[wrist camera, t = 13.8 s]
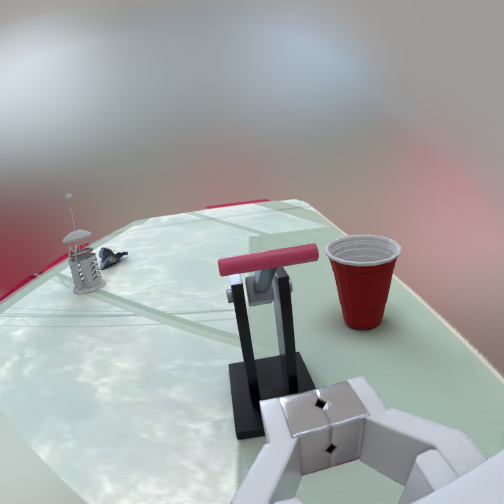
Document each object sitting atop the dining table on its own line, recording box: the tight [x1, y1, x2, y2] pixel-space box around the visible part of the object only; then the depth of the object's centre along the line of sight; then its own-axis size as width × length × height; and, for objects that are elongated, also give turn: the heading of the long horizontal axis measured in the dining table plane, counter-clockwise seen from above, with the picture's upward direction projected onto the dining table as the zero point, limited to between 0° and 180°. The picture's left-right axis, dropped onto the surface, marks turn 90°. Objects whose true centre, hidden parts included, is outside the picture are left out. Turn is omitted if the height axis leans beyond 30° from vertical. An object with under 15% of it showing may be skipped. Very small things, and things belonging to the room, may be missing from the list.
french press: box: [63, 194, 106, 294], centre depth 74 cm, size 10×12×25 cm
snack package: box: [99, 248, 128, 269], centre depth 98 cm, size 12×6×12 cm
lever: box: [218, 244, 319, 306], centre depth 25 cm, size 13×6×2 cm
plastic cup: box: [325, 235, 401, 330], centre depth 44 cm, size 11×11×12 cm
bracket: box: [226, 267, 316, 439], centre depth 32 cm, size 12×9×15 cm
